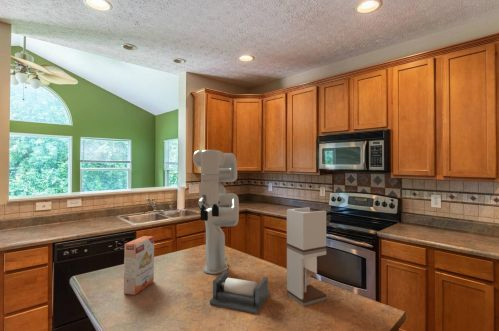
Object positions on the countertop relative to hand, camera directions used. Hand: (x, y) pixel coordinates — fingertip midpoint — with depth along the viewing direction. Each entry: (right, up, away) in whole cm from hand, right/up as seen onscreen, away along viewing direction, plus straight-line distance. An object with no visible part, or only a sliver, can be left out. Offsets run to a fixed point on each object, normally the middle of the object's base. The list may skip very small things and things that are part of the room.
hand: (209, 218), depth 118 cm
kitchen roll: (+14, -26, -10) cm, 31 cm away
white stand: (+40, -30, -8) cm, 51 cm away
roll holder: (+14, -30, -9) cm, 34 cm away
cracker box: (-31, -31, +1) cm, 43 cm away
